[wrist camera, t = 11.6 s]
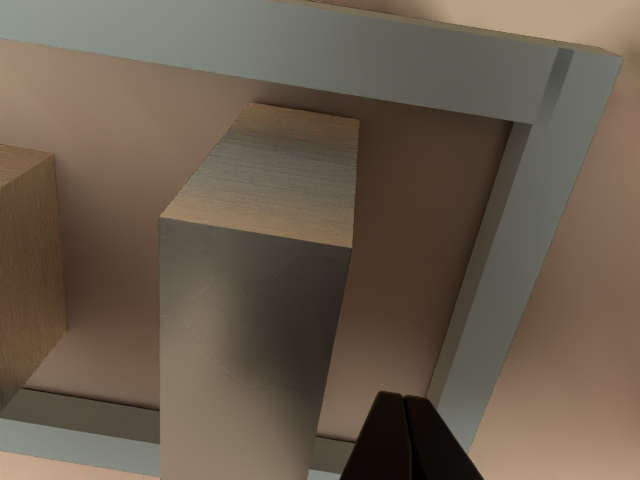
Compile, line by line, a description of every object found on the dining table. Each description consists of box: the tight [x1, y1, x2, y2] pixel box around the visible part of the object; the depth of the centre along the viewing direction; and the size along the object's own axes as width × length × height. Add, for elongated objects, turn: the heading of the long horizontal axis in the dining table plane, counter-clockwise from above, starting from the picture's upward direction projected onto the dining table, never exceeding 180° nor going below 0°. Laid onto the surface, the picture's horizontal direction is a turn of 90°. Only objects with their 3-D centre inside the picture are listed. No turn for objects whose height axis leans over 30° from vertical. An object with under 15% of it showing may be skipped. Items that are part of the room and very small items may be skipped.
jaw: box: [159, 102, 360, 480], centre depth 9 cm, size 2×8×5 cm, turn 172°
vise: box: [0, 0, 624, 480], centre depth 10 cm, size 18×11×5 cm, turn 82°
